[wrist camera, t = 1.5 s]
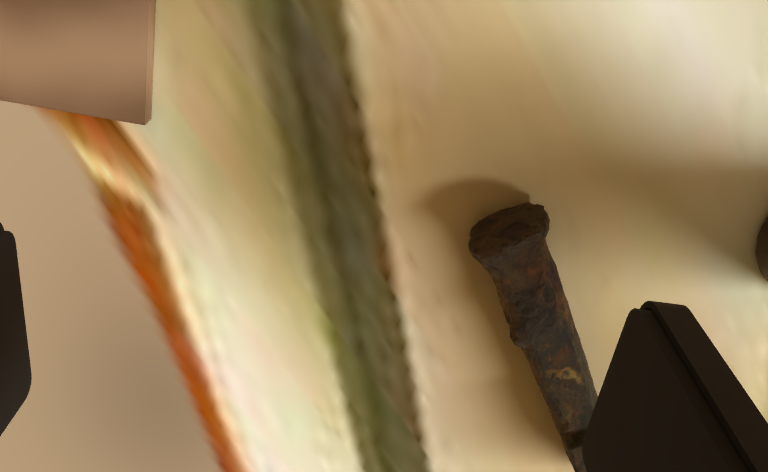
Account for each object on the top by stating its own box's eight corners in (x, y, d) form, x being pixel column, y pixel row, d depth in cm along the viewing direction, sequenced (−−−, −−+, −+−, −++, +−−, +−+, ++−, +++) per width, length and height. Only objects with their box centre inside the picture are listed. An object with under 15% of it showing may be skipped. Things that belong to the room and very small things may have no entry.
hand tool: (460, 216, 36) (471, 260, 31) (537, 191, 35) (558, 233, 31) (550, 471, 44) (568, 533, 40) (613, 454, 43) (638, 516, 39)
